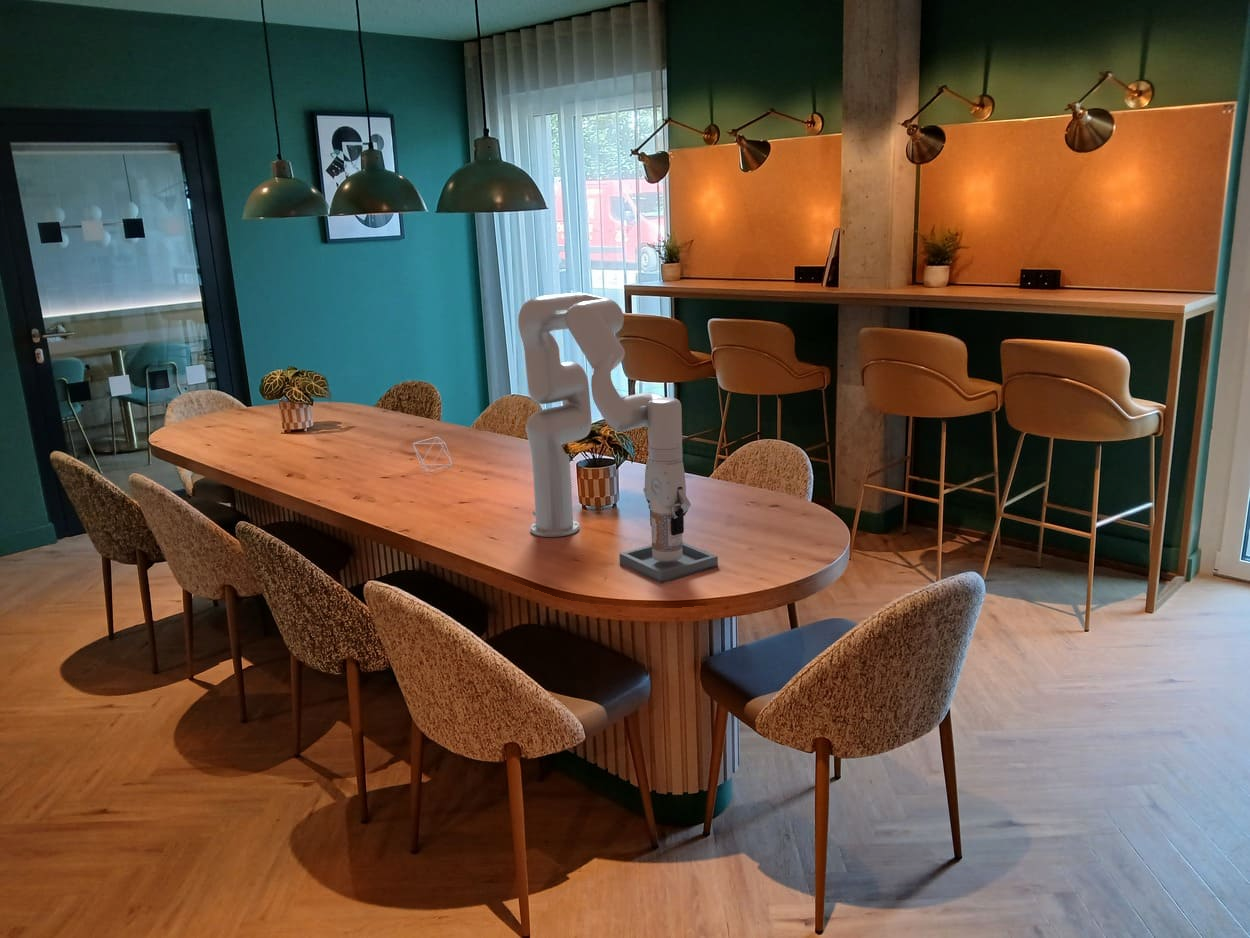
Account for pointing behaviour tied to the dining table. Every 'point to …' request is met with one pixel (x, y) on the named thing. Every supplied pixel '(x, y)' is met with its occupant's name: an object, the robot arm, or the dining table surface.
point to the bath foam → (664, 534)
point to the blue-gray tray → (668, 563)
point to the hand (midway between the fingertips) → (666, 529)
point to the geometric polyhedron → (428, 451)
